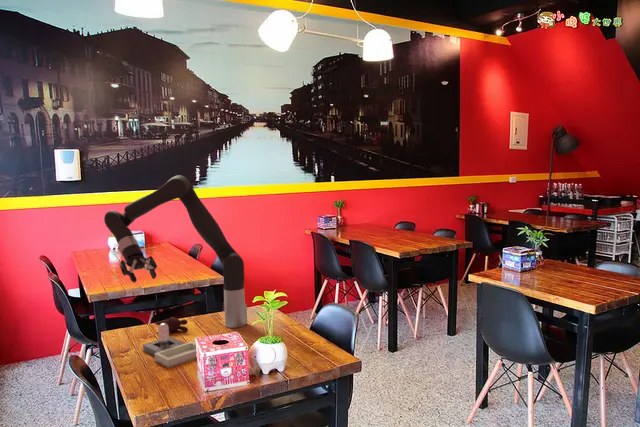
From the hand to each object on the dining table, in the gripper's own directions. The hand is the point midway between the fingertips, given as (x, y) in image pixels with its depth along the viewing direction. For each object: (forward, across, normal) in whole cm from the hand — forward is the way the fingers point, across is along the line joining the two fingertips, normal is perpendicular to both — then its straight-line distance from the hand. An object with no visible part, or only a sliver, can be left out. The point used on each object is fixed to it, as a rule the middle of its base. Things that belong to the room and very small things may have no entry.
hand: (145, 279), depth 196 cm
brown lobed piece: (+16, +14, +22) cm, 31 cm away
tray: (+37, 0, +1) cm, 37 cm away
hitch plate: (+28, 0, +10) cm, 30 cm away
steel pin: (+28, 0, +10) cm, 30 cm away
